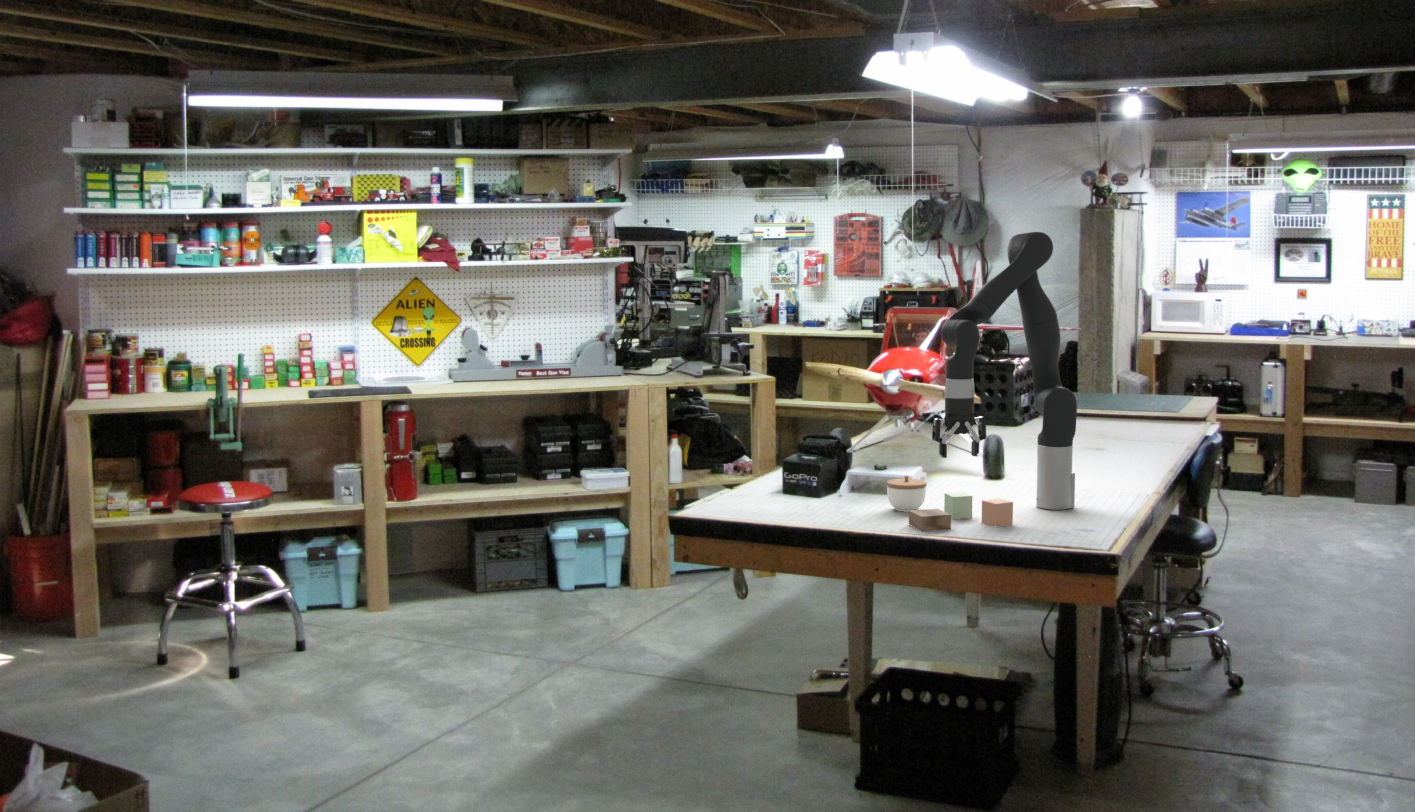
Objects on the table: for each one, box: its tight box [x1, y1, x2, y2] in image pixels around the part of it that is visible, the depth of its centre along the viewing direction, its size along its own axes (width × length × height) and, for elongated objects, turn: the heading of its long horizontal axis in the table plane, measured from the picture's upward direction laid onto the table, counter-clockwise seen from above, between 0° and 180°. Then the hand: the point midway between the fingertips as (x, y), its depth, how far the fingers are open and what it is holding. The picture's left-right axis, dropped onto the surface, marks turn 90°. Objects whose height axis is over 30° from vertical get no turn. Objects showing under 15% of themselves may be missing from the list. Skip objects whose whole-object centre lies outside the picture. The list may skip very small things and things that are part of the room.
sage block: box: [943, 491, 973, 520], centre depth 325 cm, size 6×6×6 cm
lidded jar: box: [886, 475, 927, 513], centre depth 334 cm, size 11×11×9 cm
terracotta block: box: [981, 498, 1014, 527], centre depth 315 cm, size 6×6×6 cm
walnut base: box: [908, 508, 952, 532], centre depth 313 cm, size 8×8×4 cm
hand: (959, 456), depth 323 cm, fingers open, 8 cm apart
